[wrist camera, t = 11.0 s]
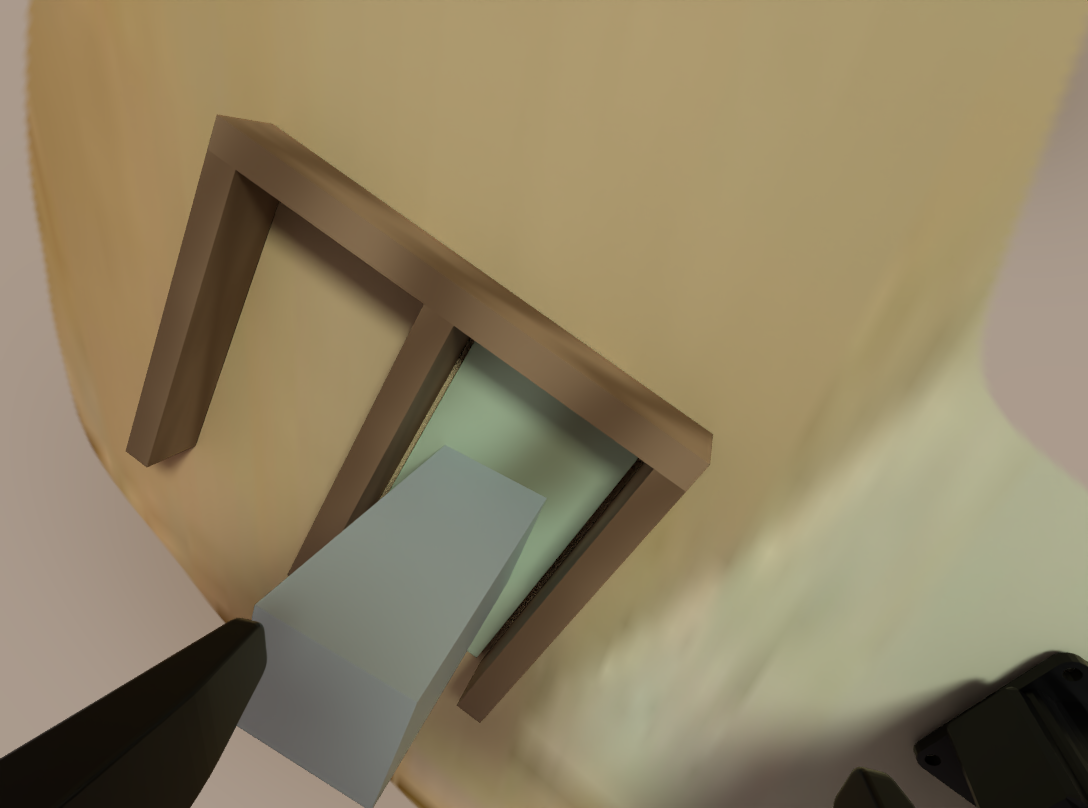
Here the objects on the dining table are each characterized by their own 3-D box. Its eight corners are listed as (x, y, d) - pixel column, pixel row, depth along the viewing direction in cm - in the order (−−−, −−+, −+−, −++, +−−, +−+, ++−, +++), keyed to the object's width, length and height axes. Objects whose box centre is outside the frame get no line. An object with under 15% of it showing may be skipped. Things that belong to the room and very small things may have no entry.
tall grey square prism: (546, 498, 22) (417, 702, 13) (508, 582, 24) (371, 811, 15) (445, 444, 23) (254, 604, 14) (415, 530, 25) (229, 721, 16)
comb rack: (712, 434, 20) (710, 464, 17) (501, 678, 26) (479, 723, 24) (272, 123, 21) (216, 114, 19) (175, 430, 27) (125, 451, 25)
